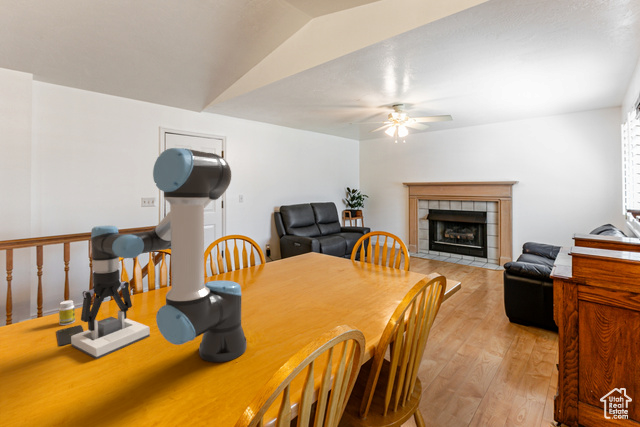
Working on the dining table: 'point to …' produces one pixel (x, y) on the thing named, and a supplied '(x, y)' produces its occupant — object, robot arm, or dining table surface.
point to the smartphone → (67, 334)
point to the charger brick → (108, 326)
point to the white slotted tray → (110, 339)
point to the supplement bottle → (66, 312)
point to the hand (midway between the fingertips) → (108, 333)
